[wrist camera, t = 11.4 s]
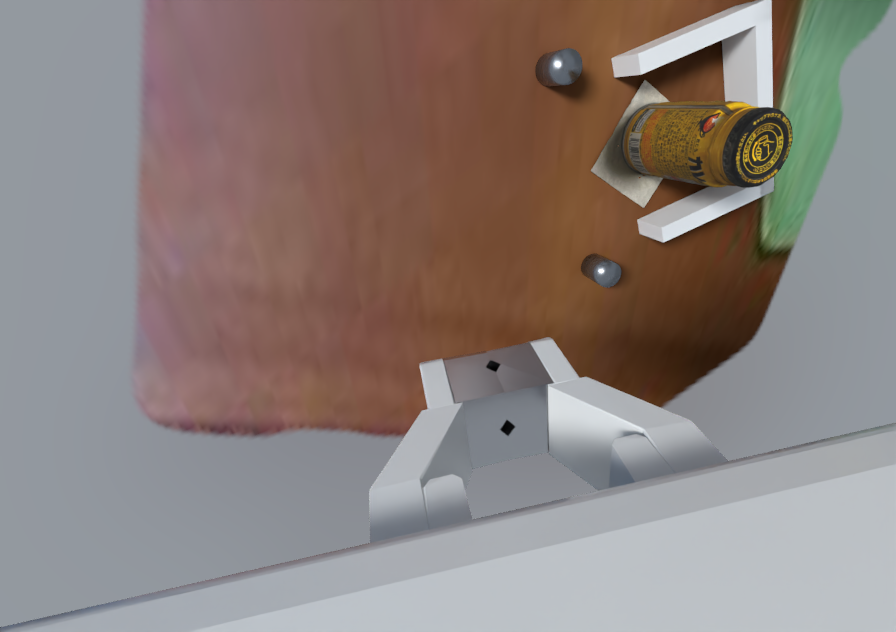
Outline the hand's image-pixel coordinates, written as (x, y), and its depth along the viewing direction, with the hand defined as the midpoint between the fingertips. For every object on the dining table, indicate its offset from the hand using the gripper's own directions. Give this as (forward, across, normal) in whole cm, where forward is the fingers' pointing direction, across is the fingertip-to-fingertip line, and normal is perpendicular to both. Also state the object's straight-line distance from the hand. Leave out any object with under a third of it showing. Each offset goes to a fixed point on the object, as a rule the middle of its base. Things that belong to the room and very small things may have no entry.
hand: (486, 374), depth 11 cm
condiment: (+33, -22, +4) cm, 40 cm away
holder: (+33, -26, +3) cm, 43 cm away
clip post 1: (+32, -13, -4) cm, 35 cm away
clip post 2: (+31, -17, +14) cm, 38 cm away
